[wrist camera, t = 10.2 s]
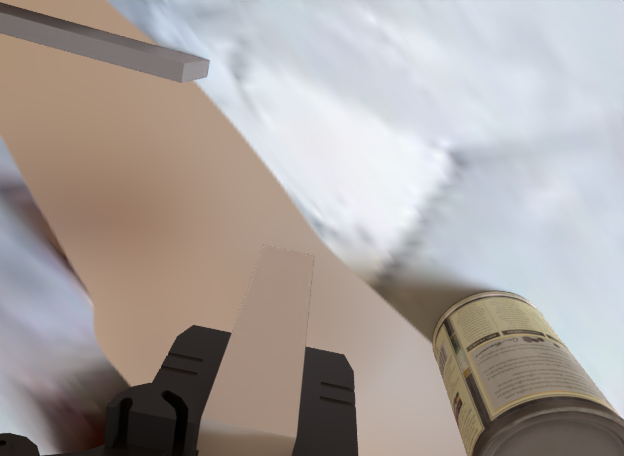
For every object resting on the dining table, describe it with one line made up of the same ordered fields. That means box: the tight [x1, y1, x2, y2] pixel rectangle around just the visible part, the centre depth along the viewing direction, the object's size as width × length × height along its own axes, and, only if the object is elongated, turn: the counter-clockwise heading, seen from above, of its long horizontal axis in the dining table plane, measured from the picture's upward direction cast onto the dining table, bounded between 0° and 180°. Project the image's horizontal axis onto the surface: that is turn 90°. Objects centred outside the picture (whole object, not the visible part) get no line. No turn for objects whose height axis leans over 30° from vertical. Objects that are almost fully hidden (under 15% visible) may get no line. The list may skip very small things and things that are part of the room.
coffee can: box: [433, 291, 624, 456], centre depth 35 cm, size 10×10×14 cm
